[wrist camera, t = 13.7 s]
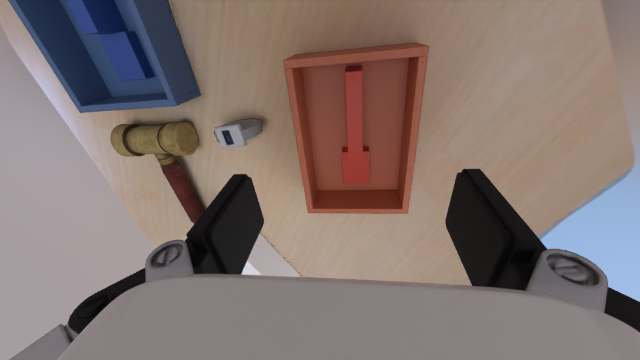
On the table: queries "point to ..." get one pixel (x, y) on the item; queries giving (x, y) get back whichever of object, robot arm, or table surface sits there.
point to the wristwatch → (237, 132)
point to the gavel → (163, 154)
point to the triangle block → (267, 261)
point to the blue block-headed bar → (113, 37)
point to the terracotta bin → (378, 125)
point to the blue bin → (94, 63)
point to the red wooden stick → (355, 130)
